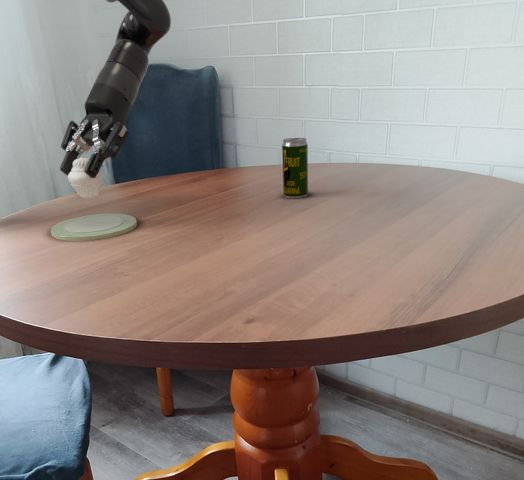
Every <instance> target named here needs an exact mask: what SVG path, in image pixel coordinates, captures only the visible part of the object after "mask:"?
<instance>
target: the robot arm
mask: <svg viewBox="0 0 524 480" xmlns="http://www.w3.org/2000/svg"><path fill="white" fill-rule="evenodd" d="M105 1H106V2H107V3H115V2H119V3H120V4H121V6H123V7H125V8H126V9H127V10H128V11H127V13H126V14H125V15H124V16H123V18H122V21H121V23H120V25H119V27H118V31H117V34H116V38H115V42H114V45H113V47H112V49H111V51H110V52H109V55H108V57H107V59H106V61H105V63H104V65H103V66H102V68H101V69H100V71H99V72H98V74H97V77H96V79H95V80H94V83H93V85H92V87H91V90H89V91H90V92H89V93H88V96H87V98H86V100H85V102H84V110H85V116H84V117H83V118H82V120H81V121H80V122H79V123H76V122H75V121H74V120H70V121H69V123H68V125H67V128H66V131H65V133H64V136H63V139H62V141H61V144H60V148H61V149H62V150H63V151H65V155H64V157H63V160H62V162H61V164H60V167H59V170H60V172H62V173H63V174H64V175H65V176H68V175H69V173H70V172H71V169H72V168H73V165H72V164H73V162H74V160H76V159H79V158H81V157H82V155H83V154H84V152H88V151H90V149H91V148H92V147H93V153H91V155H90V157H89V158H88V159H89V161H88V163H87V166H86V168H85V170H84V171H85V173H86V174H87V175H88V176H89V177H91V178H95V177H96V175H97V174H98V173H99V170H100V171H101V168H102V166H103V164H104V162H106V161H108V159H109V158H110V159H111V160H113V159H115V158H116V157H117V155H118V153H119V152H120V150H121V148H122V146H123V145H124V143H125V142H126V139H127V137H128V136H129V134H130V131H129V130H128V128H127V127H126V126H125V123H126V121H127V119H128V117H129V115H130V113H131V110H132V108H133V105H134V103H135V101H136V99H137V96H138V93H139V89H140V87H141V84H142V82H143V80H144V78H145V76H146V74H147V71H148V68H149V63H150V59H149V55H150V52H151V51H152V50H153V47H154V46H155V45H156V44H157V43H158V42H159V41H160V40H161V39H162V38H164V37H165V36H166V35H167V34H168V33H169V31H170V29H171V26H172V17H171V14H170V11H169V8H168V6H167V5H166V3H165V1H164V0H105ZM81 140H83V141H84V143H83V142H82V141H81ZM69 142H70V143H69ZM113 144H114V145H113ZM112 145H113V148H111V146H112ZM78 146H79V147H78Z"/></svg>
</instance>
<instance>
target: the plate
mask: <svg viewBox="0 0 524 480" xmlns="http://www.w3.org/2000/svg"><path fill="white" fill-rule="evenodd" d="M137 225H138V222H137V218H136V217H135V216H132V215H129V214H124V213H111V212H109V213H96V214H86V215H82V216H77V217H72V218H68V219H65V220H63V221H60V222H57V223H56V224H55V225H52V227H51V228H50V233H51V234H50V235H51V236H52V237H53V238H55V239H57V240H60V241H69V242H85V241H95V240H102V239H108V238H113V237H116V236H120V235H123V234H126V233H128V232H131V231H132V230H134V229H135V228H136V227H137Z"/></svg>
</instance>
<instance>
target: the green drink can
mask: <svg viewBox="0 0 524 480" xmlns="http://www.w3.org/2000/svg"><path fill="white" fill-rule="evenodd" d="M308 149H309V146H308V142H307V138H305V137H289V138H283V139H282V144H281V154H282V157H281V158H282V189H283V192H282V193H283V196H284V198H286V199H293V200H294V199H297V200H298V199H304V198H306V197H307V196H308V194H309V168H308V167H309V157H308V155H309V154H308V153H309V151H308Z"/></svg>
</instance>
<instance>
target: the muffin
mask: <svg viewBox="0 0 524 480" xmlns="http://www.w3.org/2000/svg"><path fill="white" fill-rule="evenodd" d="M89 159H90V158H89V157H82V156H80V157H79V158H78V159H76V160H74V162H73V164H72V165H73V168H72V169H71V172H70V173H69V175H67V181H68V182H69V183H70V185H71V187H72V188H73V189H74V191H75V192H76V193H77V194H78V196H79V197H80V198H82V199H87V198H88V199H90V198H95V197H97V196H99V193H100V191H101V187H102V183H103V173H102V171H101V169H100V170H99V173H98V174H97V175H96V177H95V178H91V177H89V176H88V175H87V174H86V173H85V171H84V170H85V168H86V166H87V163H88V161H89Z"/></svg>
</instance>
